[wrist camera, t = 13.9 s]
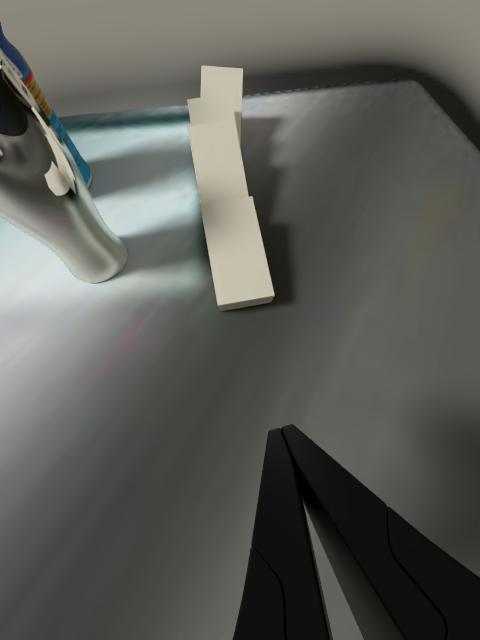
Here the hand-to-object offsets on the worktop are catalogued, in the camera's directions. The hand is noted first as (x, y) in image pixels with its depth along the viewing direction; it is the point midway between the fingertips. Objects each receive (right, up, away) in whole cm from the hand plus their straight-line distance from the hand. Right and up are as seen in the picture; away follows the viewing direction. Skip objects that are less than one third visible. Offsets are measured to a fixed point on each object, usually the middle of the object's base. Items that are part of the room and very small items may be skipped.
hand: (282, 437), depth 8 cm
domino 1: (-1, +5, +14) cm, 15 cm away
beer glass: (-16, +10, +18) cm, 26 cm away
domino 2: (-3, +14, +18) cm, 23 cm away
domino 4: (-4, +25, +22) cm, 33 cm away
